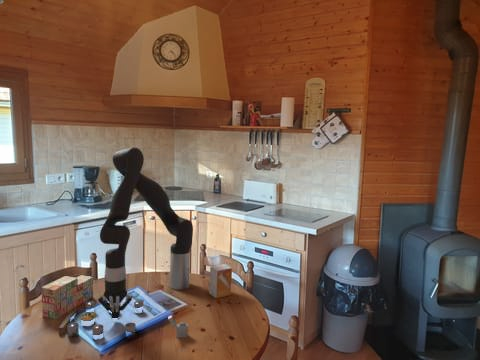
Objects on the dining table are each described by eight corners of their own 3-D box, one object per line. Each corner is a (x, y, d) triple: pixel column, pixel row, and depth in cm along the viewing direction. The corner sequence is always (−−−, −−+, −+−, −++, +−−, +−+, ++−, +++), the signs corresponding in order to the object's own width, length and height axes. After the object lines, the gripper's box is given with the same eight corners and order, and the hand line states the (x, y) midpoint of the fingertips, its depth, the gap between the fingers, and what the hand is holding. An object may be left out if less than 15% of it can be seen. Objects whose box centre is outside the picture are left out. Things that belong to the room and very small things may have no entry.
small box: (216, 298, 166) (217, 270, 164) (208, 293, 171) (209, 266, 169) (231, 294, 171) (232, 267, 169) (223, 289, 176) (224, 263, 174)
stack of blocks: (81, 294, 165) (81, 268, 163) (93, 297, 163) (93, 270, 161) (42, 316, 144) (41, 286, 143) (54, 320, 142) (54, 289, 141)
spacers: (143, 309, 153) (143, 300, 153) (134, 339, 131) (134, 329, 131) (84, 310, 151) (84, 300, 150) (64, 340, 129) (64, 330, 128)
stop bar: (77, 313, 148) (77, 307, 147) (63, 334, 133) (63, 327, 132) (73, 313, 147) (73, 307, 147) (58, 334, 133) (58, 327, 132)
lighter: (187, 334, 136) (188, 314, 135) (187, 337, 134) (188, 316, 133) (167, 335, 135) (168, 314, 134) (167, 338, 133) (168, 317, 132)
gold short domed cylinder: (96, 320, 144) (96, 311, 143) (93, 326, 139) (92, 317, 138) (83, 320, 143) (83, 311, 143) (79, 326, 138) (79, 317, 138)
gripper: (135, 273, 144) (135, 315, 147) (100, 273, 143) (100, 315, 145) (131, 280, 137) (131, 325, 139) (94, 280, 136) (95, 325, 138)
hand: (115, 319), depth 142 cm, fingers closed
